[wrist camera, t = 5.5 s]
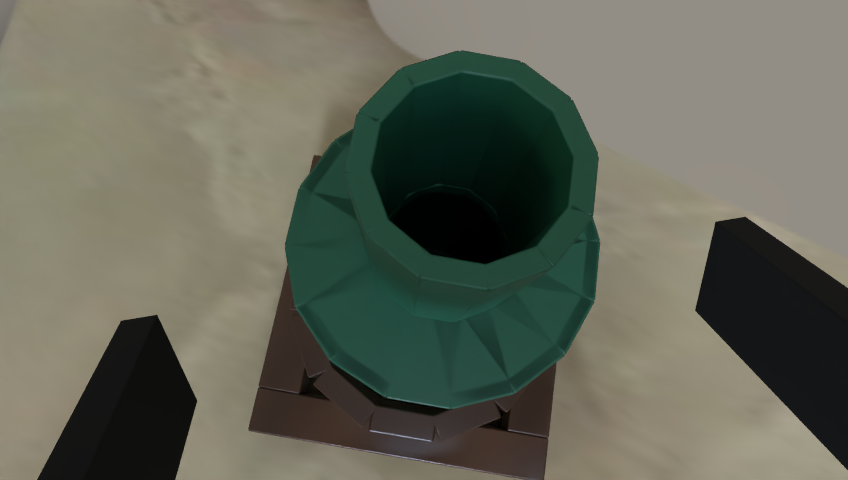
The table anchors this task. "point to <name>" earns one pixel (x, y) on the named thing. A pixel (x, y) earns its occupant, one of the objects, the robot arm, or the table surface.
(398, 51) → the table surface
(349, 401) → the holder
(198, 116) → the table surface
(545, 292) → the bottle
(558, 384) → the table surface
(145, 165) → the table surface
